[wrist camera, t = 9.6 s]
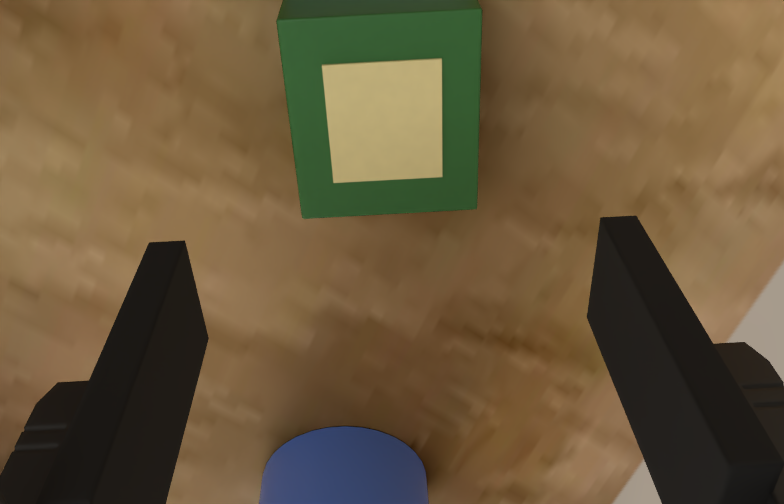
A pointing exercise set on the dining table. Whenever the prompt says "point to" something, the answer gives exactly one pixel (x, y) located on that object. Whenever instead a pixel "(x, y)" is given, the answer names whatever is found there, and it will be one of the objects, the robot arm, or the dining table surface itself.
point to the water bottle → (344, 470)
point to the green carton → (383, 104)
